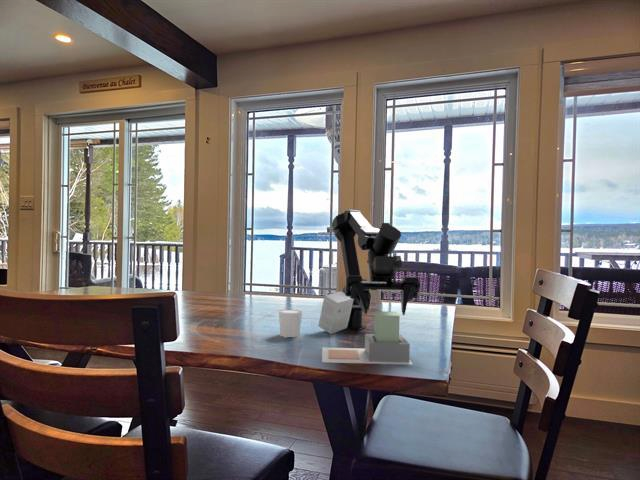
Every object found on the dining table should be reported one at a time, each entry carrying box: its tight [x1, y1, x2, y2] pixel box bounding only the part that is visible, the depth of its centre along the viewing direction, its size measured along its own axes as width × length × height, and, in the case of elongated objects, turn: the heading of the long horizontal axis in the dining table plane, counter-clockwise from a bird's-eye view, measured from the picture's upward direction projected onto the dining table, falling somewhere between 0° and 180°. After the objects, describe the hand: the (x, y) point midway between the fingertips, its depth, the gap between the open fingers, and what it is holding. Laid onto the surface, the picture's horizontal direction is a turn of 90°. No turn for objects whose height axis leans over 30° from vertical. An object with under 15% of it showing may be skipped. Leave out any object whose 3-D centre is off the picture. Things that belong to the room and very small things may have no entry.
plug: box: [373, 310, 400, 342], centre depth 92 cm, size 5×5×10 cm
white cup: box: [278, 309, 303, 338], centre depth 115 cm, size 7×7×7 cm
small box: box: [317, 290, 354, 335], centre depth 120 cm, size 8×6×10 cm
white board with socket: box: [321, 333, 414, 366], centre depth 92 cm, size 12×20×5 cm, turn 89°
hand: (385, 313), depth 96 cm, fingers open, 9 cm apart
